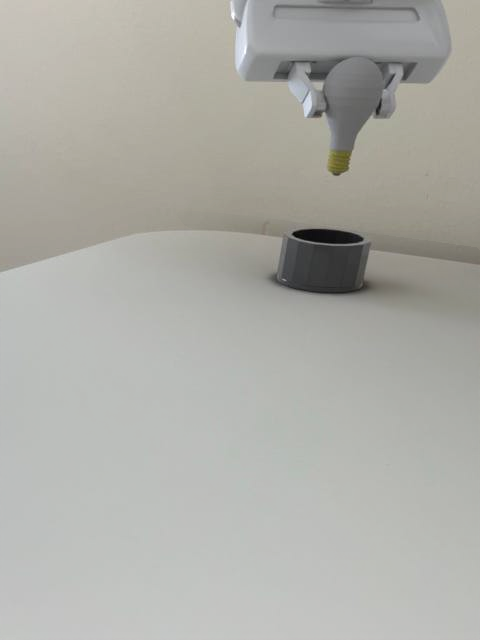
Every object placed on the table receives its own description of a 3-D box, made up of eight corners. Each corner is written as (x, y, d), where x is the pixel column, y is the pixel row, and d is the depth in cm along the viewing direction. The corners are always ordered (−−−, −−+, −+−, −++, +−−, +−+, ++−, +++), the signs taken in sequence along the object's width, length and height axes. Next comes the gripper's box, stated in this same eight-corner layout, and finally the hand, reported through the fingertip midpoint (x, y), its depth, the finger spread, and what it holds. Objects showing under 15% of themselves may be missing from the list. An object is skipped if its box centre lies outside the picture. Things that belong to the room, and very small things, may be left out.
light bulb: (295, 171, 98) (316, 54, 92) (341, 169, 100) (363, 54, 94) (330, 181, 94) (353, 59, 88) (377, 178, 95) (402, 58, 90)
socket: (346, 271, 107) (355, 227, 105) (374, 293, 100) (384, 246, 97) (267, 271, 107) (274, 226, 104) (289, 292, 100) (298, 245, 97)
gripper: (239, -43, 92) (255, 88, 89) (448, -38, 94) (470, 90, 91) (218, 12, 98) (233, 136, 95) (415, 16, 100) (435, 137, 97)
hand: (351, 114), depth 93 cm, fingers closed on light bulb, 5 cm apart
